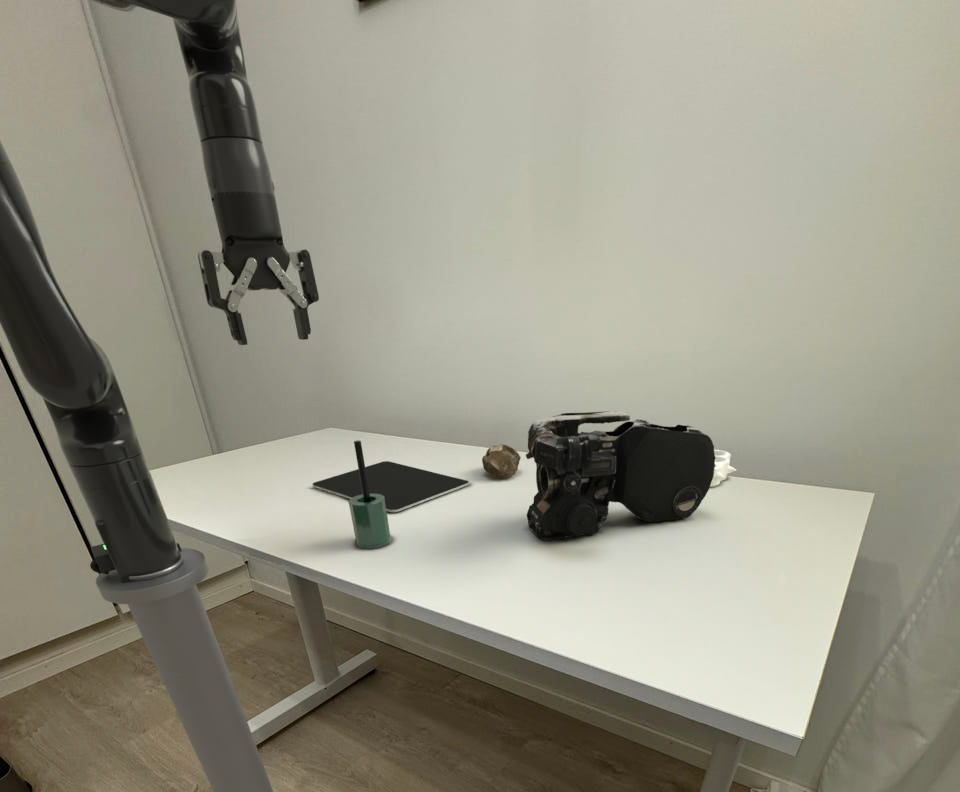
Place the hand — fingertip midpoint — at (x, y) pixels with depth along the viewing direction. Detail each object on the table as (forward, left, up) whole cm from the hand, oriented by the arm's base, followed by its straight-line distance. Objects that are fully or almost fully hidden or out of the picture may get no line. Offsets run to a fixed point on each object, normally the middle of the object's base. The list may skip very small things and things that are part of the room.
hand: (273, 342), depth 77 cm
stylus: (+6, -10, -28) cm, 30 cm away
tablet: (+22, +14, -29) cm, 39 cm away
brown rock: (+43, +4, -29) cm, 51 cm away
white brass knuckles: (+67, -25, -29) cm, 77 cm away
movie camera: (+37, -31, -29) cm, 56 cm away
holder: (+6, -10, -28) cm, 30 cm away
